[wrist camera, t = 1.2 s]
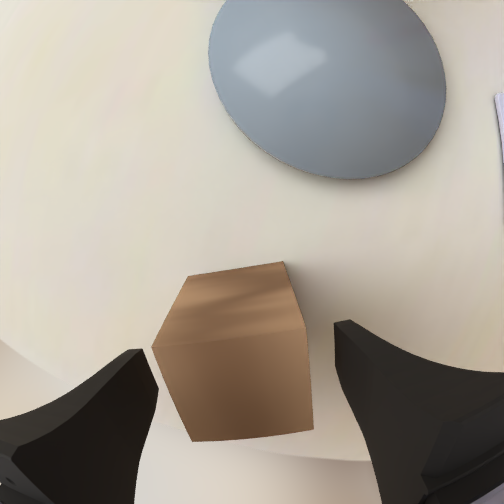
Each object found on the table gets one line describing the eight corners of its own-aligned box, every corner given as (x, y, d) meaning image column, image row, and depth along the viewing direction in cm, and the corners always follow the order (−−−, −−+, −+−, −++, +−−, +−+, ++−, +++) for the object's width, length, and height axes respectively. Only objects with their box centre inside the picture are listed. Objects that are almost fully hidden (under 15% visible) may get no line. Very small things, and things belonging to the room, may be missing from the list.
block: (282, 261, 14) (305, 327, 8) (293, 342, 15) (313, 429, 9) (188, 275, 14) (151, 347, 8) (208, 353, 15) (192, 441, 9)
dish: (402, -16, 9) (410, -24, 8) (449, 169, 12) (461, 170, 11) (198, -16, 10) (195, -26, 9) (232, 194, 13) (231, 197, 12)
